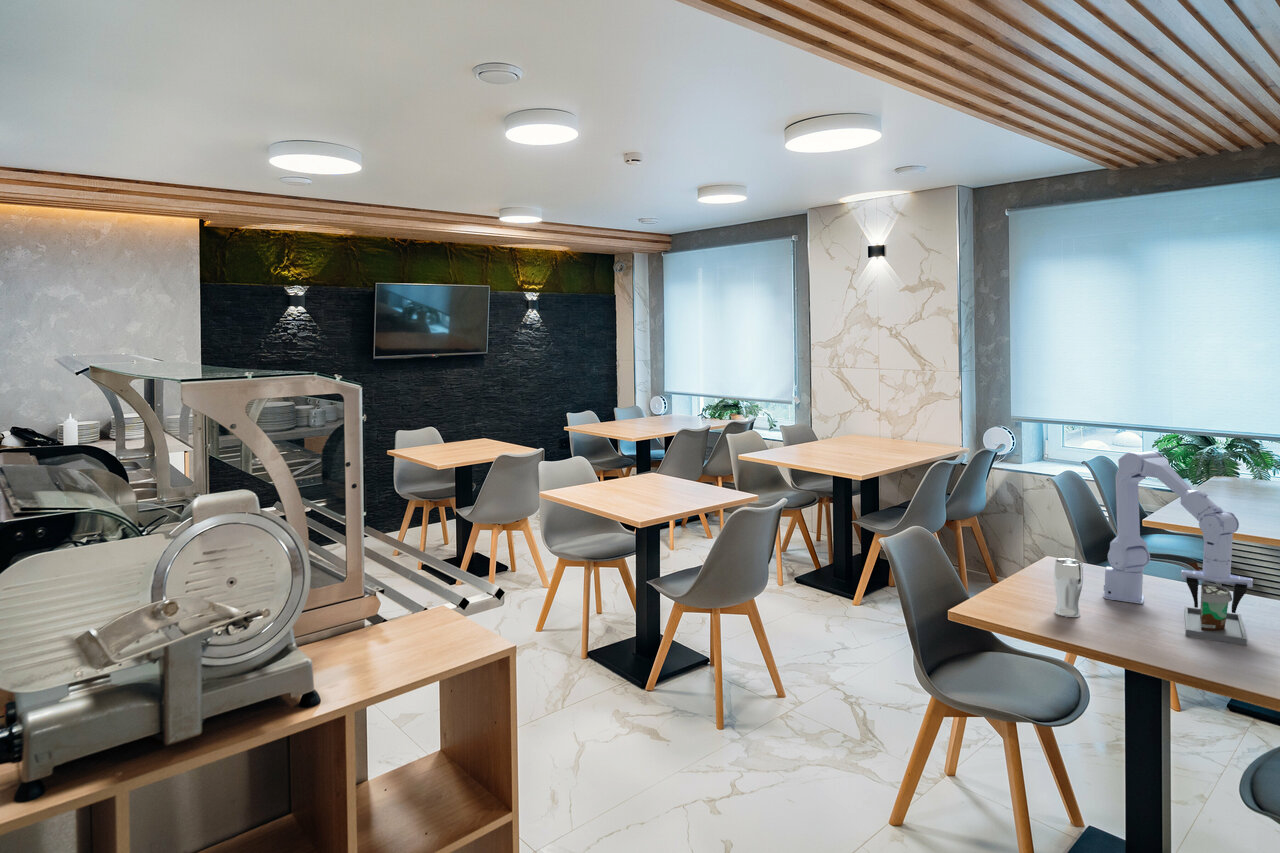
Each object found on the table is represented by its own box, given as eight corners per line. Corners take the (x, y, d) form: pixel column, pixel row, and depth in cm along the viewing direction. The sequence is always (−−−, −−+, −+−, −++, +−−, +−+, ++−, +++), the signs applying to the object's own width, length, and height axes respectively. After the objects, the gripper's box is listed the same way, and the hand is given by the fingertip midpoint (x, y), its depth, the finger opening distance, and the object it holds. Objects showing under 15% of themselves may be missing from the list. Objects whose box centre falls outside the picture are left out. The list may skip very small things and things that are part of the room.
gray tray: (1185, 635, 187) (1186, 629, 187) (1184, 612, 203) (1184, 606, 203) (1246, 645, 180) (1246, 639, 180) (1240, 620, 196) (1240, 614, 196)
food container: (1232, 636, 185) (1234, 598, 184) (1201, 631, 188) (1203, 594, 187) (1228, 621, 194) (1230, 584, 193) (1199, 617, 198) (1201, 581, 197)
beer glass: (1080, 611, 206) (1081, 559, 204) (1083, 619, 199) (1085, 566, 198) (1051, 608, 209) (1053, 557, 207) (1054, 616, 202) (1055, 563, 201)
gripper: (1182, 558, 191) (1180, 608, 192) (1255, 566, 182) (1252, 619, 184) (1182, 551, 196) (1179, 600, 198) (1252, 559, 188) (1249, 610, 189)
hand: (1214, 609), depth 191 cm, fingers open, 7 cm apart
